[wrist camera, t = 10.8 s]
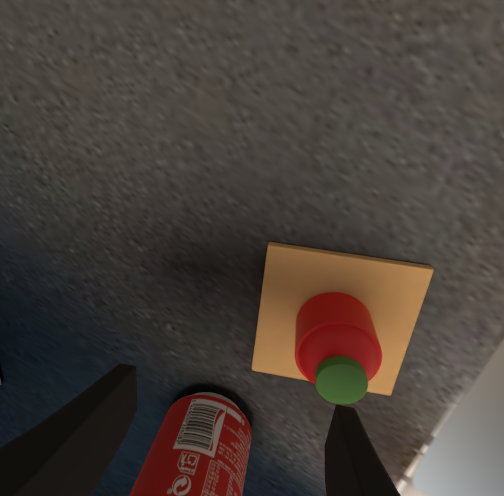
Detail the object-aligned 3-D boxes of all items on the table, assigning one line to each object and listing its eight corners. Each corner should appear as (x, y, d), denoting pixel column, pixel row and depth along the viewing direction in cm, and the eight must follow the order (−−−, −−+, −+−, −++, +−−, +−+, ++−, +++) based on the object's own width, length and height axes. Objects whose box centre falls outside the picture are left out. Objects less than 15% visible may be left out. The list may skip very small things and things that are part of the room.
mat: (252, 364, 23) (251, 370, 22) (268, 241, 19) (267, 245, 19) (388, 389, 22) (390, 396, 22) (430, 265, 19) (434, 269, 18)
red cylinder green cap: (290, 347, 21) (287, 410, 17) (302, 285, 20) (301, 338, 15) (362, 359, 21) (378, 428, 16) (379, 298, 19) (403, 355, 15)
